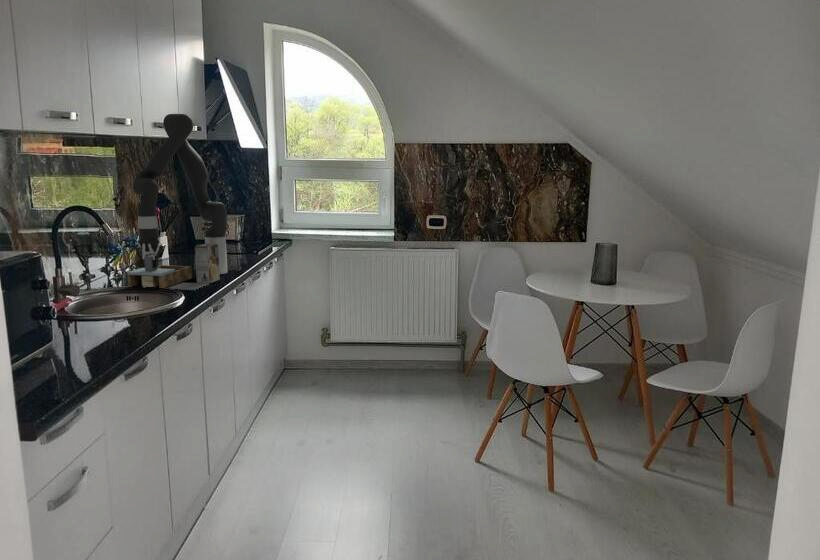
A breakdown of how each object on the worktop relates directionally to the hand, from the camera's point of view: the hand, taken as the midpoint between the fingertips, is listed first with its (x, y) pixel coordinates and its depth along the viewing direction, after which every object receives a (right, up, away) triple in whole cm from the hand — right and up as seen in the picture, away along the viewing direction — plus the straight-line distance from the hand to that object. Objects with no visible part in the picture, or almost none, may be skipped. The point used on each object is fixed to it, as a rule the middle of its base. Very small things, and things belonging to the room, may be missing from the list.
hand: (151, 268), depth 264 cm
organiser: (+1, -6, +8) cm, 10 cm away
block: (0, -8, +1) cm, 8 cm away
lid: (0, -2, 0) cm, 2 cm away
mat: (+16, -8, 0) cm, 18 cm away
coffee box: (+20, -6, +12) cm, 24 cm away
